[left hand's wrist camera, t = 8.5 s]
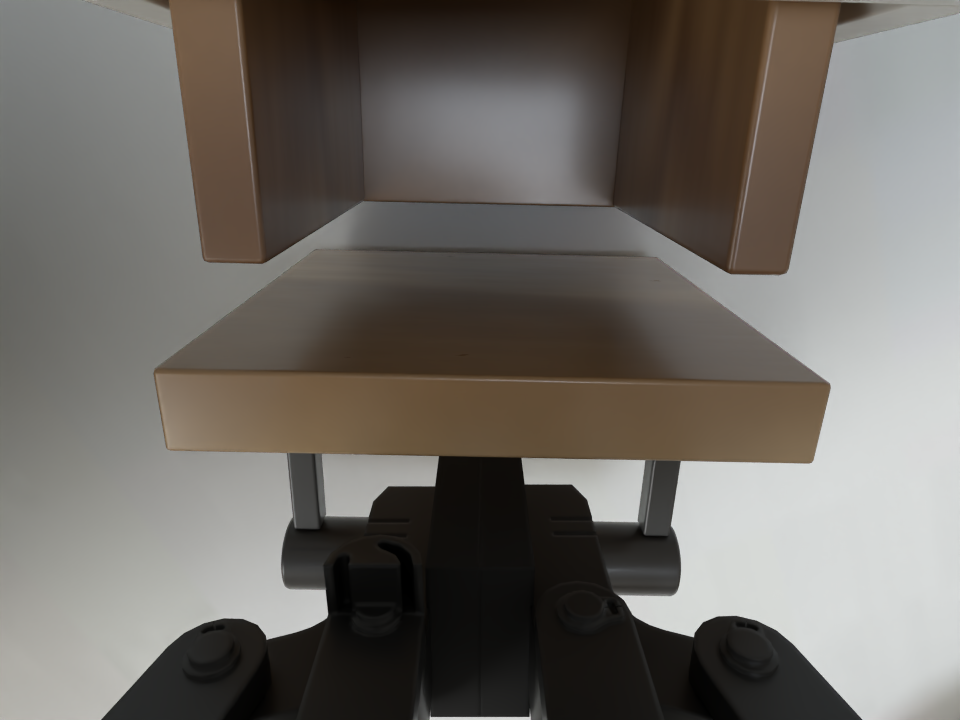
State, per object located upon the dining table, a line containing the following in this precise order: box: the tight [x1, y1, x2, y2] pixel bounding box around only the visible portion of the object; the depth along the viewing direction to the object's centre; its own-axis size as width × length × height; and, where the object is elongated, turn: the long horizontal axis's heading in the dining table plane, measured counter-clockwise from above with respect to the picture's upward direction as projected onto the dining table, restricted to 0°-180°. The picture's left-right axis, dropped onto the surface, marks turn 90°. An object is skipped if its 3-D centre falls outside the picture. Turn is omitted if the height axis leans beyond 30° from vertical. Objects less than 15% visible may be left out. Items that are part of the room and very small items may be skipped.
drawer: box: [154, 0, 841, 596], centre depth 10 cm, size 22×9×8 cm, turn 179°
